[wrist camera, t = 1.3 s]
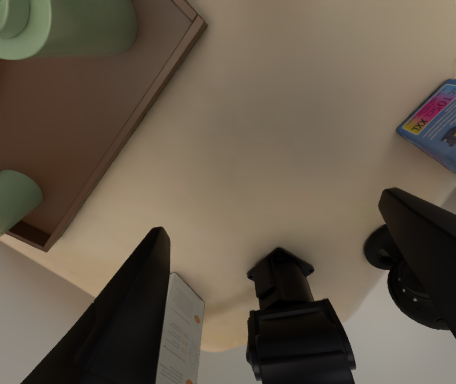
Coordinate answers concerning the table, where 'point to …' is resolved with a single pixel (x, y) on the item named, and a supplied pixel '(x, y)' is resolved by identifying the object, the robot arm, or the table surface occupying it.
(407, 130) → the ink cartridge box
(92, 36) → the sage bottle
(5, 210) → the sage bottle
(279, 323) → the robot arm
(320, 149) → the table surface
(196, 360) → the small box
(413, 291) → the webcam
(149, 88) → the tray
